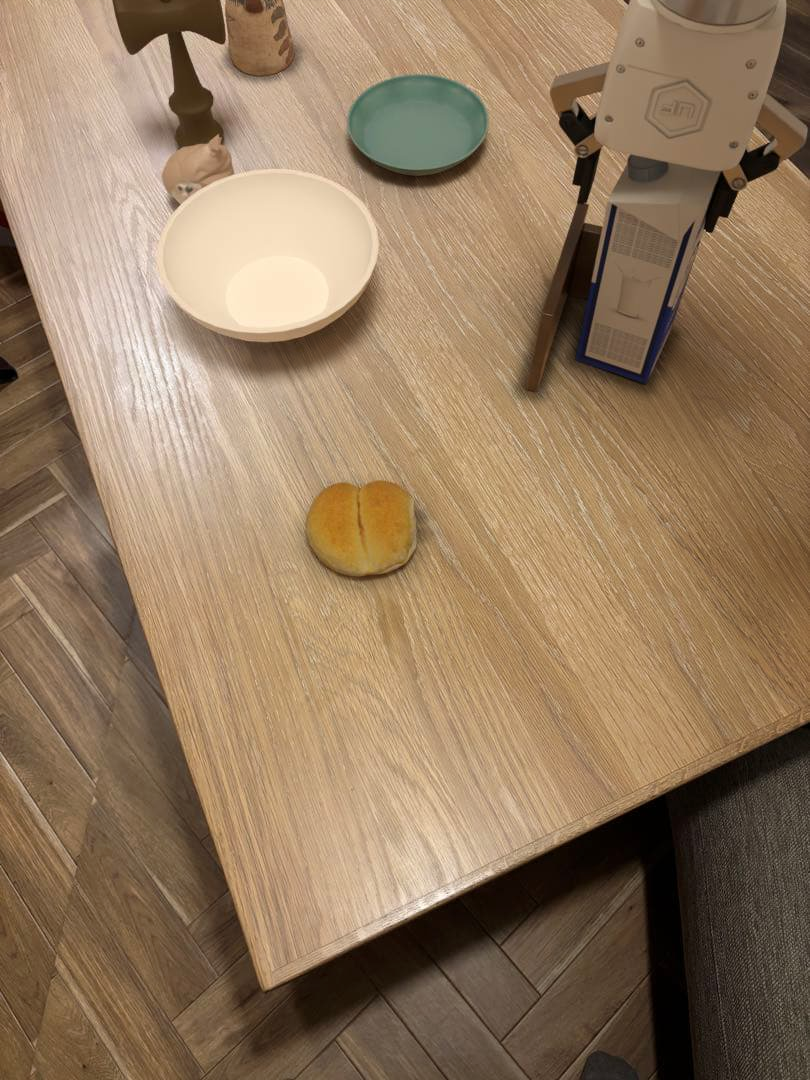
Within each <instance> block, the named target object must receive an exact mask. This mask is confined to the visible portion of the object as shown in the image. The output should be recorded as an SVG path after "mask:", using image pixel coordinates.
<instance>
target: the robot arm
mask: <svg viewBox="0 0 810 1080" xmlns="http://www.w3.org/2000/svg"><path fill="white" fill-rule="evenodd" d="M786 20H787V0H629V2H628V5H627V7H626V10H625V12H624V15H623V17H622V21H621V24H620V25H619V29H618V32H617V36H616V38H615V40H614V41H615V42H614V45H613V49H612V52H611V56H610V58H609V61H606V62H603V63H600V64H599V63H598V64H596V65H592V66H589V67H585V68H581V69H578V70H574V71H571V72H567V73H563V74H559V75H557V76H555V77H554V79H553V81H552V83H551V86H550V88H549V97H550V99H551V103H552V106H553V108H554V111H555V113H556V115H557V116H558V125H559V127H560V128H561V130H562V131H563V133H564V134H565V135H566V136H567V138H568V139H569V141H570V142H571V143H572V144H573V146H574V150H573V152H574V155H576V156H577V157H576V158H577V159H576V164H575V168H574V173H573V174H574V175H573V177H572V178H573V179H572V182H571V185H572V186H576V187H577V186H578V187H579V191H578V196H577V200H576V205H577V204H582V205H584V203H585V204H588V200H589V197H590V193H591V191H592V187H593V185H594V182H595V178H596V173H597V170H598V165H599V160H600V157H601V152H602V148H603V147H604V148H606V149H609V150H611V151H614V152H618V153H622V154H627V155H630V154H631V155H635V156H640V157H645V158H649V159H654V160H659V161H663V162H668V163H673V164H678V165H683V166H688V167H692V168H698V169H703V170H709V171H722V173H721V176H720V179H719V182H718V185H717V187H716V190H715V193H714V196H713V199H712V201H711V204H710V207H709V210H708V213H707V215H706V219H705V224H704V228H703V229H704V233H710V234H713V233H714V231H715V228H716V226H717V223H718V221H719V218H724V219H728V218H729V216H730V213H731V211H732V209H733V206H734V204H735V201H736V200H737V197H738V195H739V192H740V191H743V190H745V189H746V188H747V187H748V184H749V183H750V182H753V181H755V180H757V179H759V178H762V177H763V176H766V175H769V174H770V173H772V172H774V171H776V170H777V169H778V168H779V165H780V164H781V163H783V162H784V161H786V160H787V159H789V158H790V157H792V156H793V155H794V154H795V153H796V152H798V151H799V150H800V149H801V148H803V147H804V146H805V144H806V142H807V137H808V130H809V129H808V126H807V125H806V124H805V123H804V122H803V121H801V120H800V119H799V118H798V117H796V116H795V115H794V114H793V113H792V112H790V111H789V110H788V109H787V108H786V107H784V106H783V105H782V104H781V103H780V102H778V101H777V100H776V99H775V98H774V97H772V96H771V95H770V94H769V93H768V89H769V86H770V83H771V81H772V77H773V74H774V71H775V67H776V64H777V61H778V57H779V54H780V48H781V44H782V41H783V36H784V30H785V25H786ZM600 92H601V94H600V97H599V102H598V106H597V110H596V112H595V113H594V114H592V115H591V116H590V117H589V116H588V114H587V113H586V111H585V110H584V109H583V108H582V106H581V104H580V103H579V102H577V98H581V97H585V96H586V97H587V96H589V95H594V94H597V93H600ZM756 124H757V125H759V127H761V128H762V129H764V130H765V131H766V132H767V133H768V134H770V135H771V136H772V137H773V138H774V139H773V140H772V141H770V142H767V143H765V144H763V145H761V146H758V147H756V148H754V149H752V150H751V149H750V147H749V143H750V141H751V137H752V135H753V133H754V130H755V126H756Z"/></svg>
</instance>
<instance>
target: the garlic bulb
mask: <svg viewBox="0 0 810 1080" xmlns="http://www.w3.org/2000/svg"><path fill="white" fill-rule="evenodd" d="M221 138H222V137H219V134H218V135H217V136H215V137H214V138H213V139H212V140H210V141H209V143H208V144H197V145H194V146H188V147H182V148H179V149H178V150H176V151H175V152H174V153H173V154H172V155H171V156H169V158H168V159H167V161H166V163H165V166H163V171H162V172H161V180H162V184H163V187H164V189H165V191H166V192H167V194H168V195H169V196H171V197H172V198H174V199H175V201H176V202H177V203H179V204H180V205H181V204H182V203H183V202H184V201H185V200H187V199H188V198H189V197H190V196H192V195H193V194H194V193H196V192H197V191H198V190H200V189H202V188H204V187H206V186H207V185H209V184H211V183H213V182H215V181H217V180H220V179H223V178H226V177H228V176H231V175H234V174H235V171H234V167H233V163H232V160H233V159H232V155H231V152H230V151H229V149H228V148H227V147H225V146H224V145H222V142H221ZM220 142H221V144H220Z"/></svg>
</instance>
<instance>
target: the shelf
mask: <svg viewBox="0 0 810 1080" xmlns="http://www.w3.org/2000/svg"><path fill="white" fill-rule="evenodd" d="M589 207H590V204H588V203H584V205H582V204H577V203H576V206H575V209H574V212H573V215H572V218H571V221H570V225H569V228H568V231H567V234H566V237H565V240H564V243H563V246H562V248H561V253H560V255H559V258H558V262H557V264H556V268H555V270H554V274H553V276H552V277H553V278H552V280H551V282H550V286H549V288H548V292H547V295H546V298H545V301H544V304H543V307H542V310H541V313H540V318H539V324H538V328H537V332H536V337H535V338H536V339H535V343H534V348H533V353H532V358H531V363H530V368H529V373H528V378H527V382H526V388H525V389H526V391H530V392H535V393H537V392H538V390H539V387H540V383H541V380H542V377H543V374H544V371H545V368H546V365H547V361H548V358H549V354H550V352H551V348H552V345H553V343H554V339H555V335H556V332H557V329H558V327H559V323H560V319H561V316H562V313H563V310H564V307H565V303H566V300H567V297H568V296H572V297H576V298H580V299H585V300H588V296H589V291H590V286H591V281H592V276H593V271H594V267H595V262H596V257H597V252H598V247H599V242H600V237H601V232H602V227H603V225H599V224H598V225H597V224H593V223H588V222H586V220H587V215H588V211H589Z"/></svg>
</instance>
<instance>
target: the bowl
mask: <svg viewBox="0 0 810 1080" xmlns="http://www.w3.org/2000/svg"><path fill="white" fill-rule="evenodd" d="M158 239H159V240H158V242H157V246H156V266H157V270H158V275H159V279H160V281H161V283H162V284H163V287H164V288H165V290H166V292H167V294H168V295H169V297H170V298H171V299H172V301H174V303H175V304H176V305H177V306H178V307H179V308H180V309H181V310H182V312H183V313H184V314H186V315H187V316H188V317H190V319H192V320H194V321H195V322H196V323H198V324H200V325H201V326H202V327H204V328H206V329H208V330H211V331H213V332H215V333H217V334H219V335H221V336H225V337H229V338H233V339H238V340H242V341H247V342H258V343H271V342H284V341H290V340H293V339H298V338H301V337H305V336H307V335H310V334H312V333H315V332H317V331H320V330H322V329H323V328H325V327H327V326H328V325H330V324H331V323H333V322H335V321H336V320H338V319H339V318H340V317H342V316H343V315H344V314H345V313H346V312H347V311H349V310H350V308H352V307H353V306H354V305H355V304H356V303H357V302H358V300H359V298H360V297H361V296H362V294H364V292H365V290H366V288H367V287H368V285H369V283H370V281H371V278H372V276H373V273H374V271H375V268H376V266H377V262H378V255H379V248H380V245H379V243H380V242H379V233H378V229H377V226H376V224H375V221H374V218H373V216H372V213H371V212H370V211H369V210H368V209H367V207H366V206H365V204H364V203H363V202H362V200H360V199H359V198H358V197H357V196H356V195H355V194H354V193H353V192H352V191H351V190H349V189H348V188H346V187H344V186H343V185H341V184H339V183H337V182H336V181H334V180H333V179H329V178H326V177H325V176H321V175H319V174H316V173H312V172H307V171H303V170H297V169H288V168H263V169H253V170H248V171H244V172H243V171H242V172H239V173H234V175H231V176H228V177H226V178H223V179H220V180H217V181H215V182H213V183H211V184H209V185H207V186H206V187H204V188H202V189H200V190H198V191H197V192H196V193H194V194H193V195H192V196H190V197H189V198H188V199H187V200H185V201H184V202H183V203H182V204H180V205H179V206H178V207H177V208H176V209H175V210H174V212H173V213H171V215H170V216H169V218H168V220H167V221H166V223H165V225H164V227H163V228H162V230H161V232H160V236H159V238H158Z"/></svg>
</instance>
